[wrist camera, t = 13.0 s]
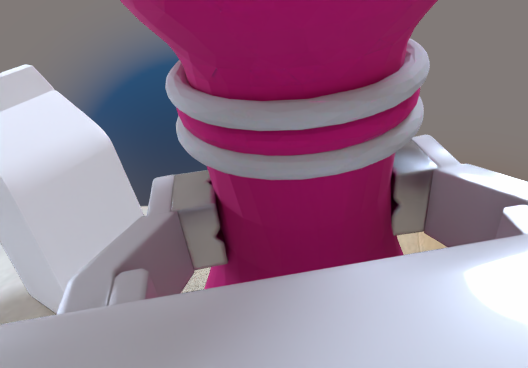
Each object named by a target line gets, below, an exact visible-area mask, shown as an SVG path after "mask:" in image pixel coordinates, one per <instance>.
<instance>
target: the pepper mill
mask: <svg viewBox="0 0 528 368" xmlns="http://www.w3.org/2000/svg"><path fill="white" fill-rule="evenodd" d="M120 1H121V2H122V3H123V4H124V5H125V6H126V7H127V8H128V9H129V10H130V11H131V12H132V13H133V14H134V15H135V16H136V17H137V18H138V19H139V20H140V21H141V22H142V23H143V24H144V25H146V26H147V27H148V28H149V29H150V30H152V31H153V32H154V33H155V34H156V35H158V36H159V37H160V38H161V39H163V40H164V41H165V42H166V43H167V44H168V45H169V46H170V47H171V48H172V50H173V51H174V52H175V53H176V55H177V56H178V58H179V61H178V62H177V63H176V64H175V66H174V67H173V68H172V69H171V70H170V72H169V74H168V76H167V78H166V91H167V94H168V97H169V98H170V100H171V101H172V103H173V104H174V105H175V106H176V107H177V112H178V115H179V116H178V120H177V123H176V131H177V136H178V139H179V142H180V143H181V145H182V146H183V147H184V148H185V150H186V151H187V152H188V153H189V154H190V155H191V156H192V157H193V158H195V159H197V160H198V161H200V162H201V163H203V164H204V165H206V166H207V168H208V172H209V175H210V178H211V182H212V185H213V188H214V190H215V194H216V198H217V204H218V209H219V214H220V226H221V230H222V233H223V235H224V240H225V245H226V252H227V258H228V264H224V265H219V266H214V267H211V270H210V273H209V276H208V279H207V282H206V285H205V289H209V288H215V287H221V286H227V285H232V284H238V283H244V282H250V281H256V280H261V279H267V278H273V277H279V276H285V275H291V274H296V273H302V272H308V271H314V270H320V269H326V268H331V267H337V266H343V265H349V264H355V263H361V262H366V261H372V260H378V259H384V258H390V257H395V256H401V255H403V252H402V250H401V247H400V245H399V242H398V239H397V235H395V236H394V235H393V230H392V226H391V174H392V168H393V163H394V157H395V152H396V151H398V150H399V149H401V148H402V147H403V146H405V145H406V144H407V143H409V141H410V140H411V139H412V138H413V136H414V135H415V134H416V133H417V132H418V130H419V127H420V126H421V124H422V121H423V116H424V111H423V110H424V109H423V108H424V106H423V103H422V100H421V98H420V96H419V93H420V86H421V85H422V84H423V83H424V81H425V79H426V77H427V74H428V72H429V67H430V62H429V59H428V54H427V53H426V51H425V50H424V49H423V47H422V46H421V45H419V44H418V43H417V42H415V41H414V40H412V39H410V36H411V34H412V32H413V30H414V28H415V27H416V25H417V24H418V23H419V21H420V20H421V19H422V18H423V16H424V15H425V14H426V13H427V12H428V11H429V9H430V8H431V7H432V6H433V5H434V4H435V3H436V2H437V0H120Z"/></svg>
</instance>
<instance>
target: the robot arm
mask: <svg viewBox="0 0 528 368" xmlns="http://www.w3.org/2000/svg"><path fill="white" fill-rule="evenodd" d="M391 226H392V230H393V235H394V236H395V235H402V234H409V233H416V232H423V231H424V233H425V234H427V235H429V236H430V237H432V238H434V239H435V240H437V241H439V242H440V243H442V244H443V245H445V246H447V247H448V248H442V249H436V250H430V251H425V252H419V253H413V254H407V255H401V256H395V257H390V258H384V259H378V260H372V261H366V262H361V263H355V264H349V265H343V266H337V267H331V268H326V269H320V270H314V271H308V272H302V273H296V274H291V275H285V276H279V277H273V278H267V279H261V280H256V281H250V282H244V283H238V284H232V285H227V286H221V287H215V288H209V289H203V290H197V291H192V292H186V293H181V292H182V290H183V289H184V287H185V286H186V284H187V283H188V281H189V279H190V278H191V276H192V275H193V273H194V270H198V269H203V268H208V267H214V266H219V265H224V264H228V258H227V252H226V245H225V240H224V235H223V233H222V230H221V226H220V214H219V209H218V204H217V198H216V194H215V190H214V188H213V185H212V182H211V178H210V175H209V172H208V170H206V171H199V172H192V173H185V174H178V175H170V176H164V177H158V178H155V179H154V180H153V184H152V190H151V195H150V201H149V206H148V211H147V216H141V217H140V218H139V219H138V220H136V221H135V222H134V223H133V224H132V225H131V226H130V227H128V228H127V229H126V230H125V231H124V232H123V233H122V234H120V235H119V236H118V237H117V238H116V239H115V240H114V241H112V242H111V243H110V244H109V245H108V246H107V247H106V248H104V249H103V250H102V251H101V252H100V253H99V254H98V255H96V256H95V257H94V258H93V259H92V260H91V261H90V262H88V263H87V264H86V265H85V266H84V267H83V268H82V269H80V270H79V271H78V272H77V273H76V274H75V275H74V276H72V277H71V278H70V279H69V282H68V284H67V287H66V290H65V292H64V295H63V298H62V301H61V303H60V306H59V309H58V311H57V314H56V315H52V316H46V317H40V318H34V319H28V320H23V321H17V322H11V323H5V324H0V368H528V182H526V181H522V180H519V179H516V178H512V177H509V176H506V175H503V174H500V173H496V172H493V171H490V170H487V169H483V168H480V167H477V166H474V165H470V164H460V163H459V162H458V161H457V160H456V159H455V158H454V157H453V156H452V155H451V154H450V153H449V152H447V151H446V150H445V149H444V148H443V147H442V146H441V145H440V144H439V143H438V142H437V141H436V140H435V139H434V138H433V137H432V136H430V135H422V136H417V137H413V138H412V139H411V140H410V141H409V143H407V144H406V145H405V146H403V147H402V148H401V149H399V150H398V151H396V152H395V157H394V163H393V168H392V174H391Z"/></svg>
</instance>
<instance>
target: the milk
mask: <svg viewBox="0 0 528 368" xmlns="http://www.w3.org/2000/svg"><path fill="white" fill-rule="evenodd" d="M141 216H144V214H143V212H142V209H141V207H140V205H139V203H138V200H137V198H136V196H135V194H134V191H133V189H132V187H131V185H130V182H129V180H128V178H127V176H126V174H125V171H124V169H123V167H122V164H121V162H120V160H119V158H118V155H117V153H116V151H115V149H114V147H113V145H112V142H111V141H110V139H109V137H108V136H107V135H106V133H105V132H104V131H103V130H102V129H101V128H100V127H99V126H98V125H97V124H96V123H95V122H93V120H91V119H90V118H89V117H88V116H87V115H85V114H84V113H83V112H82V111H80V110H79V109H78V108H77V107H75V106H74V105H73V104H72V103H71V102H70V101H68V100H67V99H66V98H65V97H63V96H62V95H61V94H60V93H59V92H58V91H55V90H54V88H53V87H52V86H51V85H50V84H49V83H48V82H47V81H46V79H45V78H44V77H43V76H42V75H41V74H40V73H39V72H38V71H37V70H36V69H35V68H34V67H33V66H31V65H22V66H19V67H16V68H13V69H11V70H8V71H5V72H2V73H0V243H1V245H2V247H3V248H4V250H5V252H6V254H7V256H8V257H9V259H10V261H11V263H12V264H13V266H14V268H15V270H16V272H17V273H18V275H19V277H20V279H21V280H22V282H23V284H24V286H25V288H26V289H27V291H28V293H29V295H31V296H32V297H34V298H35V299H36V300H38V301H39V302H41V303H42V304H43V305H45V306H46V307H48V308H49V309H50V310H52V311H53V312H55V313H56V314H57V311H58V309H59V306H60V303H61V301H62V298H63V295H64V292H65V290H66V287H67V284H68V282H69V279H70V278H71V277H72V276H74V275H75V274H76V273H77V272H78V271H79V270H80V269H82V268H83V267H84V266H85V265H86V264H87V263H88V262H90V261H91V260H92V259H93V258H94V257H95V256H96V255H98V254H99V253H100V252H101V251H102V250H103V249H104V248H106V247H107V246H108V245H109V244H110V243H111V242H112V241H114V240H115V239H116V238H117V237H118V236H119V235H120V234H122V233H123V232H124V231H125V230H126V229H127V228H128V227H130V226H131V225H132V224H133V223H134V222H135V221H136V220H138V219H139V218H140V217H141Z"/></svg>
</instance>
